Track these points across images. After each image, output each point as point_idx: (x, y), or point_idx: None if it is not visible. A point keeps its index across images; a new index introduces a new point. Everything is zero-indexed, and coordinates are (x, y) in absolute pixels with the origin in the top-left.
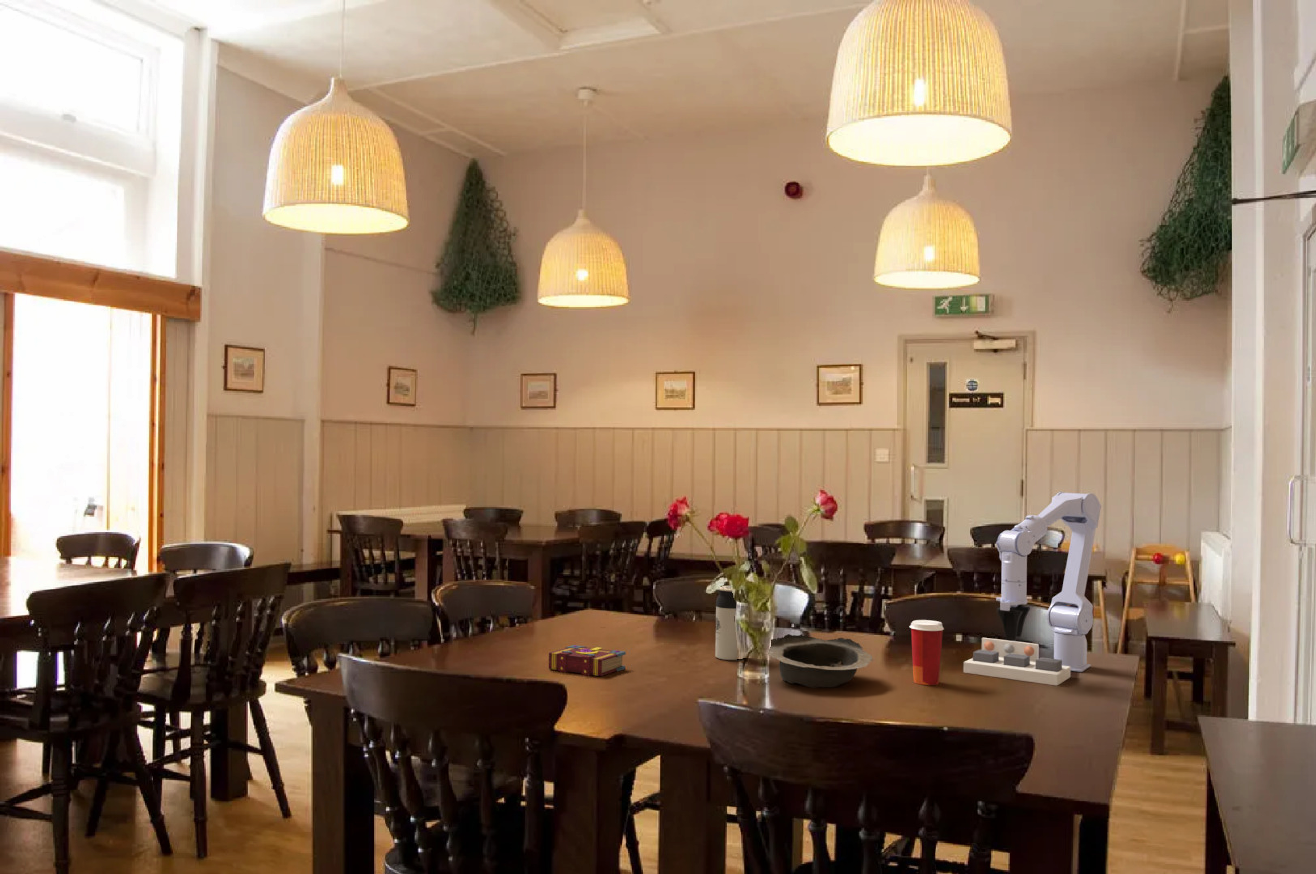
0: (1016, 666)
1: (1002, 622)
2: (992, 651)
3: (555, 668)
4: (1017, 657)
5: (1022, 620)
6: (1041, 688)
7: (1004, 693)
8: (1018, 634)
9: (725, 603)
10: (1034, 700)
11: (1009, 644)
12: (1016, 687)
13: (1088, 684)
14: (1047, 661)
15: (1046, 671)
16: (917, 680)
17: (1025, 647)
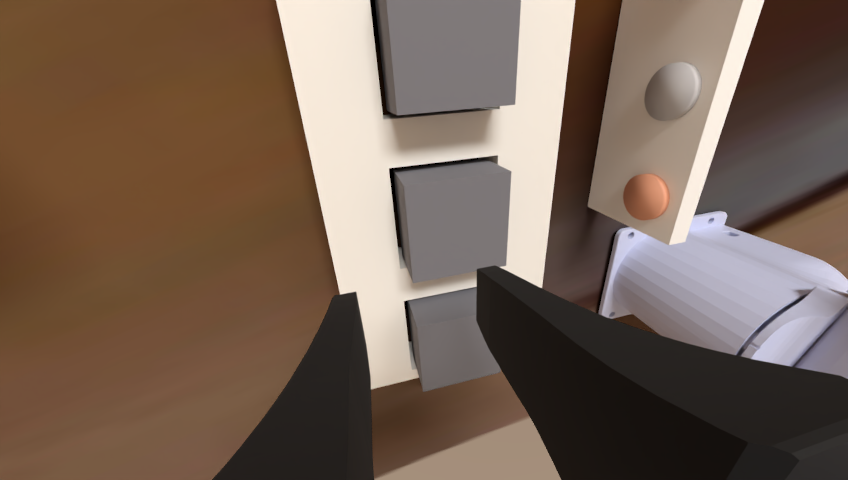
0: (401, 233)
1: (270, 408)
2: (507, 65)
3: None
4: (424, 249)
5: (548, 449)
6: (272, 355)
7: (22, 328)
8: (482, 324)
9: None
10: (48, 431)
11: (689, 98)
12: (196, 303)
13: (450, 391)
14: (430, 362)
15: (390, 348)
16: None
17: (660, 186)
